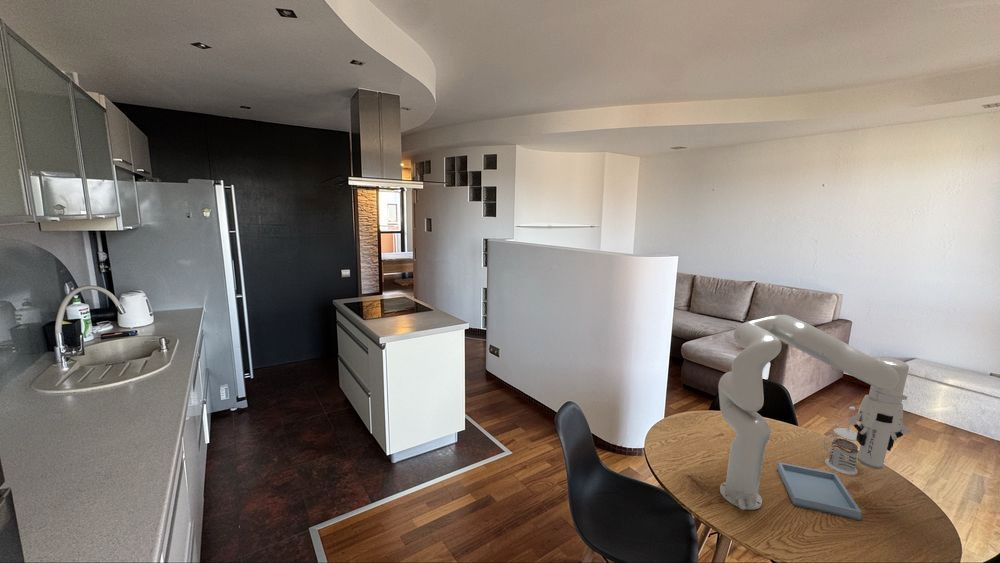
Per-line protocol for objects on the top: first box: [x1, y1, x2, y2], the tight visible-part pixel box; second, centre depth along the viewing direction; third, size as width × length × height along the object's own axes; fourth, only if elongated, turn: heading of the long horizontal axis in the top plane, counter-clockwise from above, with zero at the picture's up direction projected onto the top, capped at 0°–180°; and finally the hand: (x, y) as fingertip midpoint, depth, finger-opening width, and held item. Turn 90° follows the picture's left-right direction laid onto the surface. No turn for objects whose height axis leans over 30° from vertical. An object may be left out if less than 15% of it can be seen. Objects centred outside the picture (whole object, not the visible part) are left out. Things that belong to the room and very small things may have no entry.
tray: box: [776, 461, 862, 521], centre depth 140 cm, size 20×18×3 cm
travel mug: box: [857, 413, 893, 470], centre depth 132 cm, size 6×7×20 cm
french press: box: [823, 406, 859, 476], centre depth 152 cm, size 10×12×25 cm
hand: (873, 445), depth 133 cm, fingers closed on travel mug, 6 cm apart
